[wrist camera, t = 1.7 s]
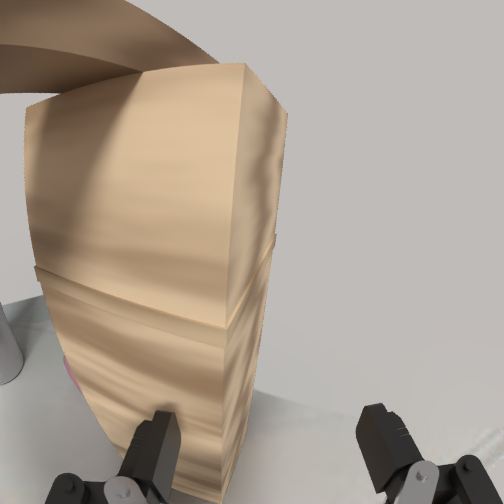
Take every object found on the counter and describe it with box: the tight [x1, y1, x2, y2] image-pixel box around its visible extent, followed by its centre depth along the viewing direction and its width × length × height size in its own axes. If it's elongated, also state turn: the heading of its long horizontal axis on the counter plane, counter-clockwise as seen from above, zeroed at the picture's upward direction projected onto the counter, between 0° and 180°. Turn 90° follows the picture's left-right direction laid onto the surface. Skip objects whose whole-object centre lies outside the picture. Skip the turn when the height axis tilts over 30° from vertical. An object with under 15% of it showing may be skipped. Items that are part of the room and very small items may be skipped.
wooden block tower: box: [24, 63, 288, 504], centre depth 17 cm, size 10×10×32 cm
